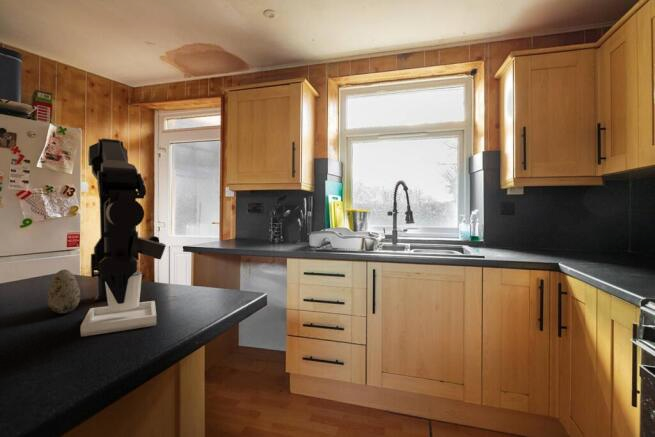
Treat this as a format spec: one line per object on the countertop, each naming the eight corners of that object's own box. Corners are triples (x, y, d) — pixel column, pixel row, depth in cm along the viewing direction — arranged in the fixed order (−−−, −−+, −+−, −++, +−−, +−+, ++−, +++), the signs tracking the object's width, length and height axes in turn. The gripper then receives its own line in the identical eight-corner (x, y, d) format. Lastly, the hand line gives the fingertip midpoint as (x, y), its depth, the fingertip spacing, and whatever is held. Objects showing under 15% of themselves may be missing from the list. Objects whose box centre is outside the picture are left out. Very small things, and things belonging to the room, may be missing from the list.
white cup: (97, 308, 70) (97, 275, 69) (130, 300, 76) (129, 270, 76) (117, 313, 66) (116, 278, 66) (149, 304, 73) (149, 272, 72)
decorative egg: (76, 307, 81) (76, 266, 80) (83, 312, 77) (82, 269, 77) (45, 313, 76) (44, 269, 76) (50, 319, 72) (49, 273, 72)
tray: (90, 317, 73) (90, 308, 73) (154, 309, 79) (154, 300, 79) (80, 336, 62) (80, 326, 62) (156, 325, 68) (156, 315, 68)
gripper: (165, 227, 66) (166, 305, 67) (161, 223, 82) (162, 286, 83) (97, 229, 61) (98, 314, 61) (107, 224, 77) (108, 291, 78)
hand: (121, 299), depth 71 cm, fingers closed on white cup, 6 cm apart
